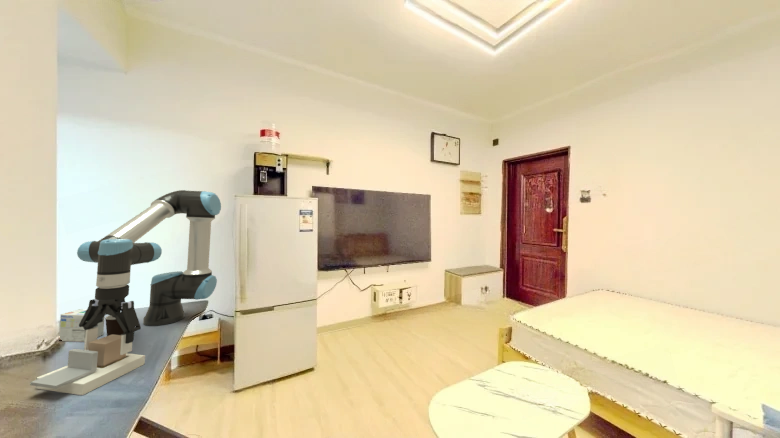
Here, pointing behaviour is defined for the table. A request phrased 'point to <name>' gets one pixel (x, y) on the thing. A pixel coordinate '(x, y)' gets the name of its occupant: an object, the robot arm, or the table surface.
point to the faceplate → (99, 375)
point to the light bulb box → (75, 326)
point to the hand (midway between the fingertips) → (108, 350)
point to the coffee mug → (113, 326)
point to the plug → (107, 350)
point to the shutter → (71, 369)
